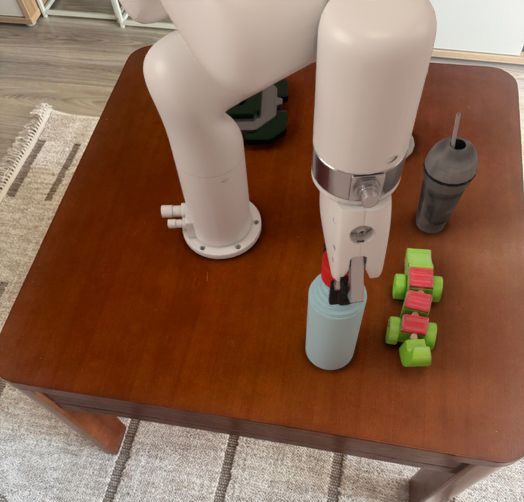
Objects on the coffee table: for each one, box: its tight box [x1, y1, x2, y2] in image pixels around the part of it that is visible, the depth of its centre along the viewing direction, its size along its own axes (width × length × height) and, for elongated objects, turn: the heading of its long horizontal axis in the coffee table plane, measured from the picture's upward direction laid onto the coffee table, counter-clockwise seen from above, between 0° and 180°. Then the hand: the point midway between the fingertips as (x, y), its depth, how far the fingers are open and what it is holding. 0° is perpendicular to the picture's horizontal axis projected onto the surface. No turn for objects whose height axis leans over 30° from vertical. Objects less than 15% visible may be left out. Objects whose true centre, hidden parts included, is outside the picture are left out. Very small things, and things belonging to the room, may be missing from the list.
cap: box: [320, 249, 349, 288], centre depth 57 cm, size 4×4×3 cm
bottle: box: [304, 273, 368, 371], centre depth 65 cm, size 7×7×20 cm
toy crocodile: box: [385, 247, 444, 368], centre depth 73 cm, size 20×7×6 cm, turn 167°
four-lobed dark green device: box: [225, 77, 289, 146], centre depth 94 cm, size 18×18×5 cm
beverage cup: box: [415, 112, 479, 234], centre depth 74 cm, size 7×7×20 cm
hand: (339, 282), depth 59 cm, fingers closed on cap, 4 cm apart
